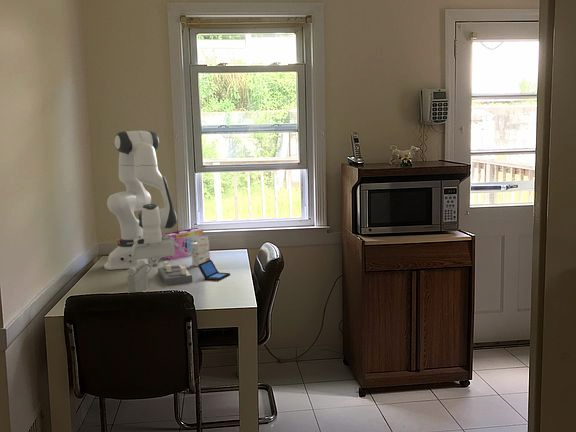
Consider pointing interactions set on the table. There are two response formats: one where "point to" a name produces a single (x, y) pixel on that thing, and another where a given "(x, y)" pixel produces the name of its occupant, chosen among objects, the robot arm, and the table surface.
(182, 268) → the switch tab
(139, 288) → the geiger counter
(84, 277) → the table surface
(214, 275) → the handheld game console
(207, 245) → the ink cartridge box
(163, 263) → the switch tab
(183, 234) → the gum box
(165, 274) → the switch panel
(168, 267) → the switch tab
